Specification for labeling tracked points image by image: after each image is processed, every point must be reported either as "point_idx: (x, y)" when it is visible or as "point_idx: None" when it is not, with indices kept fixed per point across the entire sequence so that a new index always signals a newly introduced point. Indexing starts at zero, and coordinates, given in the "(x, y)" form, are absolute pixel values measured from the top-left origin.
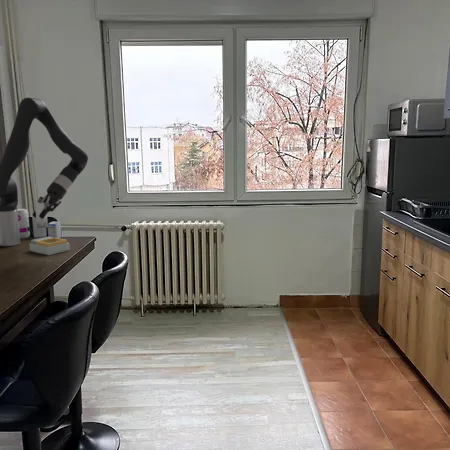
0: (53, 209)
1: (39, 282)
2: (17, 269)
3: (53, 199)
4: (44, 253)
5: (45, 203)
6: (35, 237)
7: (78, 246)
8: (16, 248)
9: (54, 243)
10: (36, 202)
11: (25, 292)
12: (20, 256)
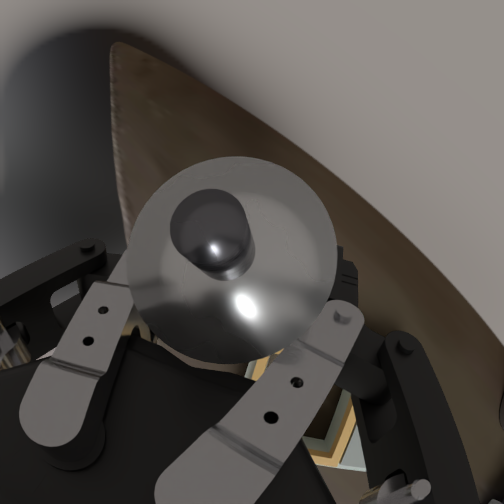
0: (75, 299)
1: (112, 104)
2: (234, 141)
3: (11, 369)
4: None
5: (138, 292)
6: (492, 499)
7: None
8: (474, 370)
9: (253, 373)
10: (328, 249)
11: (114, 70)
12: (369, 275)
